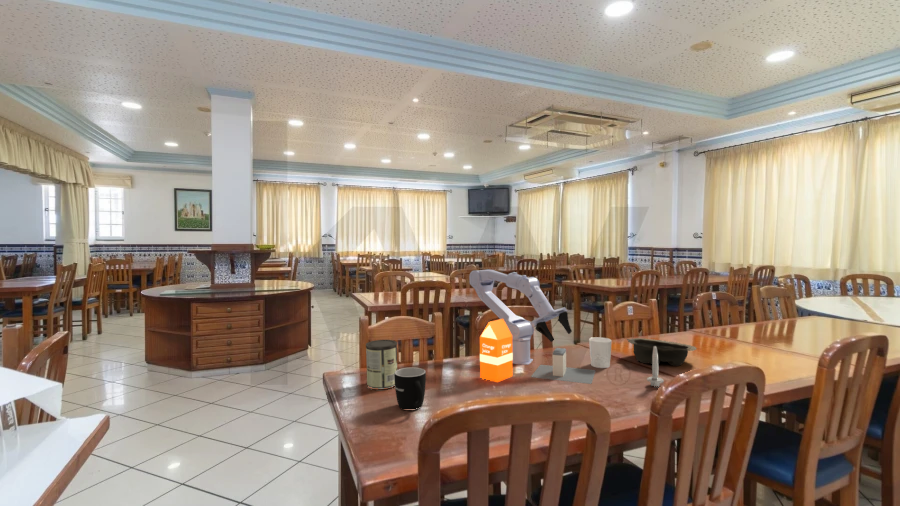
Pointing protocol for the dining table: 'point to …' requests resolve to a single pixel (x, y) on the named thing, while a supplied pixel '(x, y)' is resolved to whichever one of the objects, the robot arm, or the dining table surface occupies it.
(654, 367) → the screw
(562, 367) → the beige rectangular block
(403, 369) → the mug
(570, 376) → the mat
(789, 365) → the dining table surface
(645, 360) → the stone bowl
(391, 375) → the coffee can
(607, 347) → the white cup
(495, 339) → the orange juice
